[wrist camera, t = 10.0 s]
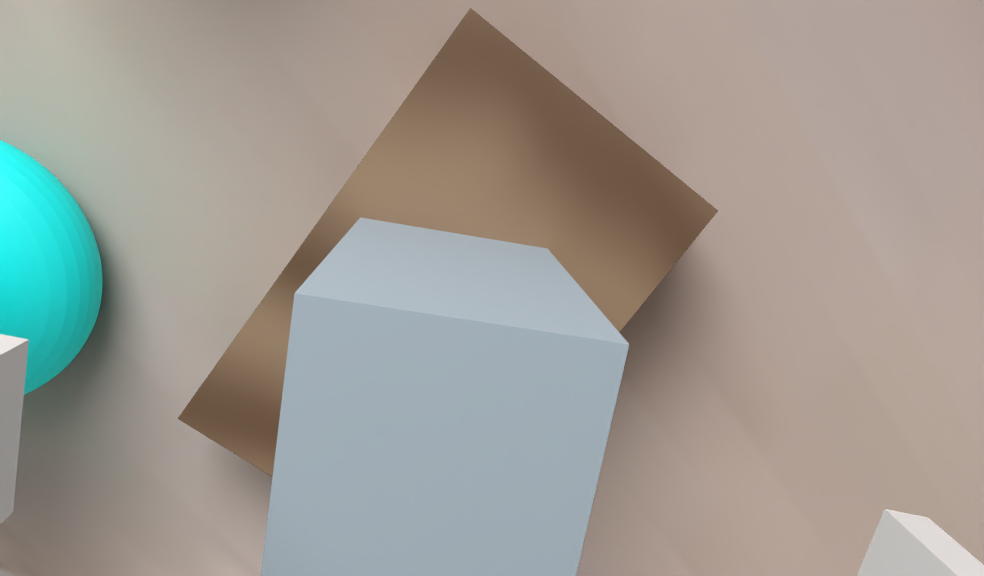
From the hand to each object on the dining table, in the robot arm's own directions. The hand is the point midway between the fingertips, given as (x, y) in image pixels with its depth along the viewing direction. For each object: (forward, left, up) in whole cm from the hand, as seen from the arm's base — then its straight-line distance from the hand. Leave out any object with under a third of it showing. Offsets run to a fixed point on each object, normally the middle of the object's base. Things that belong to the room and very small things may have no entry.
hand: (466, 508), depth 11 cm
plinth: (0, 0, -17) cm, 17 cm away
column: (+1, 0, -12) cm, 12 cm away
